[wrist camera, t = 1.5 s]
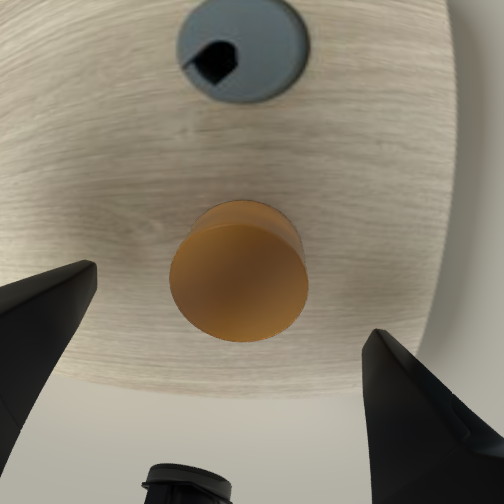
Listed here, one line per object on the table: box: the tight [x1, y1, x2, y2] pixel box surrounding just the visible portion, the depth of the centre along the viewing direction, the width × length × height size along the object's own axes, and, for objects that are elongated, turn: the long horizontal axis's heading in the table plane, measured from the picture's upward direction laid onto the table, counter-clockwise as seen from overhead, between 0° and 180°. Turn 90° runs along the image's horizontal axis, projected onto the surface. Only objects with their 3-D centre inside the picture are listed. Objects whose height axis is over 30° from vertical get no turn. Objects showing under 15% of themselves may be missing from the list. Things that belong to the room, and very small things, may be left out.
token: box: [169, 200, 308, 342], centre depth 11 cm, size 5×5×2 cm
